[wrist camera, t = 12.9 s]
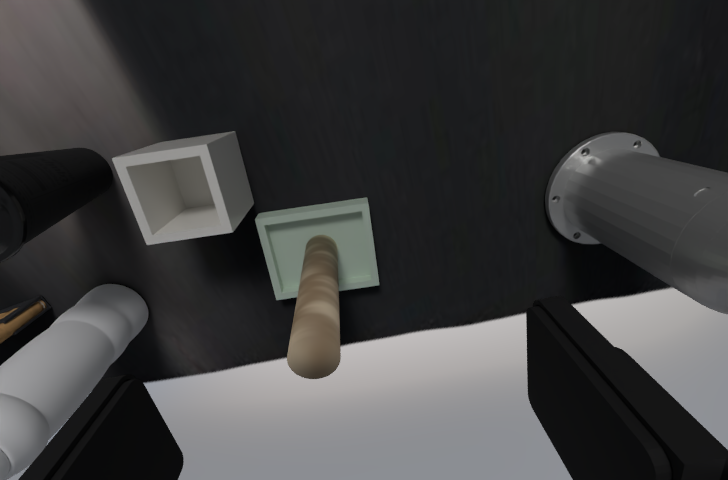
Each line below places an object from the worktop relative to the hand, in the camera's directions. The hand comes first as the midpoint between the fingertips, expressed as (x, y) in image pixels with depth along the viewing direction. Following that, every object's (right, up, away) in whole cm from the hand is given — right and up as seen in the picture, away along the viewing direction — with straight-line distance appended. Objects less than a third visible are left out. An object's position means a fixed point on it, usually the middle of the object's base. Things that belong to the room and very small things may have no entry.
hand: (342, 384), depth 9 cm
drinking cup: (-28, +11, +29) cm, 41 cm away
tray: (-4, +3, +34) cm, 34 cm away
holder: (-16, +10, +30) cm, 35 cm away
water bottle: (-29, -4, +35) cm, 46 cm away
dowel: (-4, +2, +33) cm, 33 cm away
